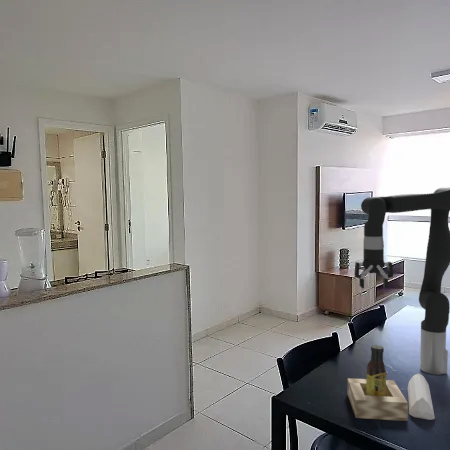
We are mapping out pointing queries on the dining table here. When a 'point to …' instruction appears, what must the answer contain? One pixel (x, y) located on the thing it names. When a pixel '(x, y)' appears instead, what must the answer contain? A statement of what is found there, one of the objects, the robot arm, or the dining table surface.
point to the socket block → (377, 402)
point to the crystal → (420, 398)
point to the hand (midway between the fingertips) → (373, 287)
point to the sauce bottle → (376, 373)
